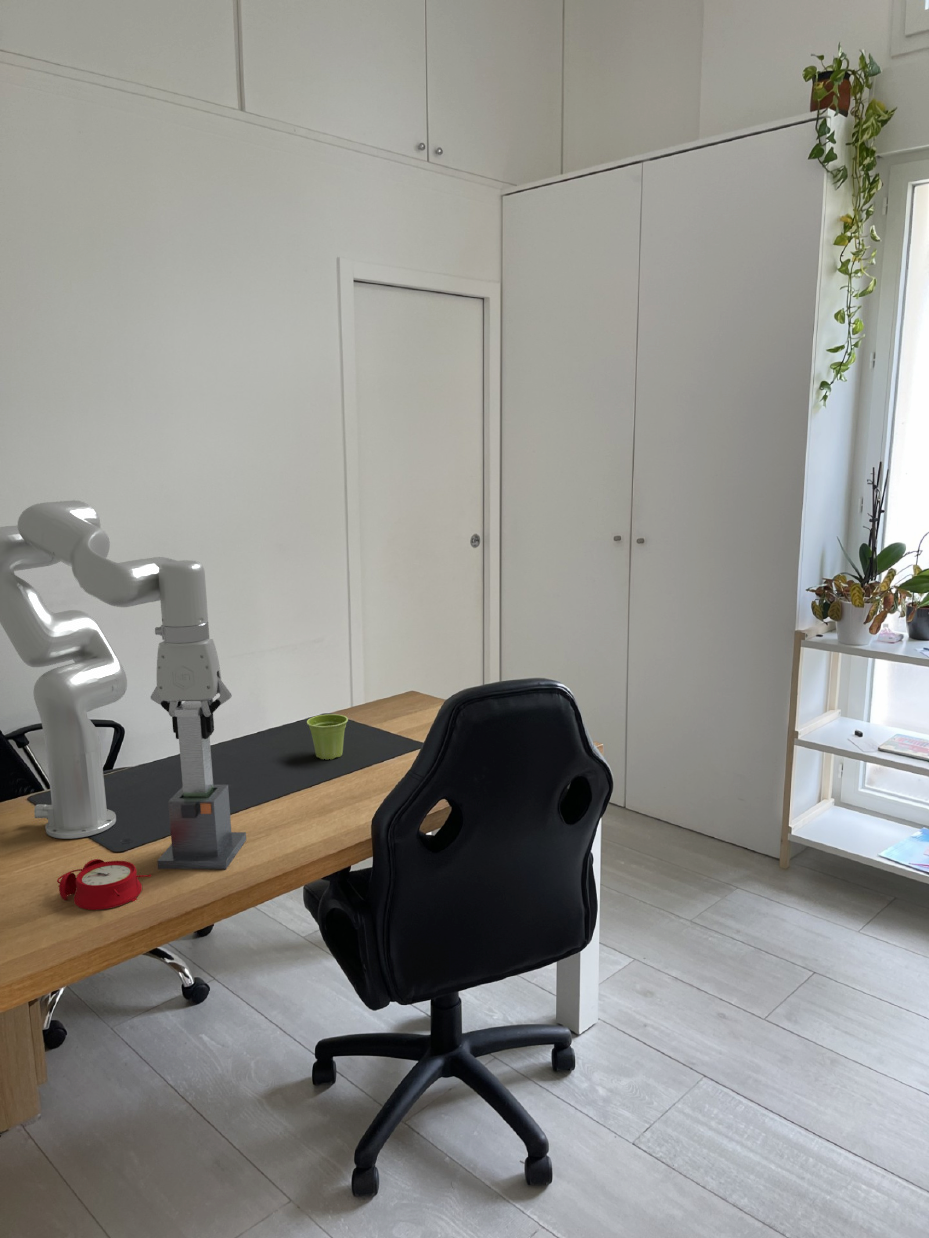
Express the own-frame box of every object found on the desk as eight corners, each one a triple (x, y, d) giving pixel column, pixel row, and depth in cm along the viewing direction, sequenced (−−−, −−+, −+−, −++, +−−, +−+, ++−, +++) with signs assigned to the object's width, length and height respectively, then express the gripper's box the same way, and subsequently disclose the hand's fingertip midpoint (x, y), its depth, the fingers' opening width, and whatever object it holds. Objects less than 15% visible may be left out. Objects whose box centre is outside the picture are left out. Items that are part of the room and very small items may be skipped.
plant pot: (346, 762, 213) (344, 725, 211) (305, 762, 213) (303, 726, 212) (352, 748, 222) (350, 713, 221) (312, 749, 222) (310, 714, 221)
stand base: (157, 868, 161) (152, 805, 159) (182, 839, 173) (177, 780, 171) (226, 869, 160) (221, 805, 158) (246, 839, 172) (242, 780, 170)
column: (184, 826, 163) (174, 709, 159) (195, 814, 168) (186, 700, 164) (206, 827, 162) (197, 709, 159) (217, 814, 168) (208, 700, 164)
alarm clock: (113, 896, 144) (40, 861, 149) (110, 930, 146) (38, 895, 151) (159, 867, 154) (89, 836, 159) (155, 900, 155) (86, 868, 160)
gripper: (129, 638, 156) (138, 743, 159) (227, 637, 155) (235, 743, 158) (146, 629, 163) (155, 730, 167) (241, 628, 162) (247, 730, 166)
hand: (194, 735), depth 162 cm, fingers closed on column, 4 cm apart
